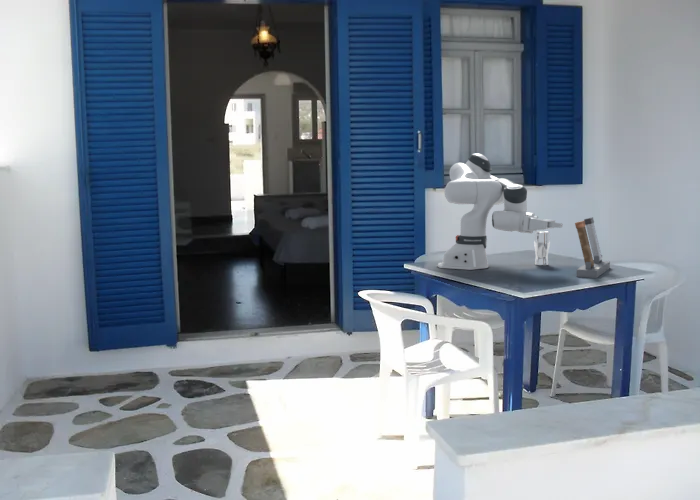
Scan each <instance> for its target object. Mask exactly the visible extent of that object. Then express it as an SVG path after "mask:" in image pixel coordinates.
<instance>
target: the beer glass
mask: <svg viewBox="0 0 700 500" xmlns="http://www.w3.org/2000/svg"><path fill="white" fill-rule="evenodd" d="M533 245H534V252H535V259H534V260H535V261H534V265H535V266H549V260H548V259H549V257H548V256H549V251H550V247H551V246H550V245H551V233H550V231H547V230H546V231H545V230H536V231H534V237H533Z"/></svg>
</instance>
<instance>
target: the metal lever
mask: <svg viewBox="0 0 700 500" xmlns="http://www.w3.org/2000/svg"><path fill="white" fill-rule="evenodd" d="M583 221H585V225H586V226H585V228H586V232H587V236H588V240H589V245H590V249H591V253H592V257H593V258H594V256H597V257H599V262H600V261H601V260H602V261H603V255H602V253H601V249H600V248H601V247H600V245H599V244H600V243H599V240H598V236H597V230H596V227H595V221H594V217H589V218H584V219H583ZM601 255H602V256H601Z"/></svg>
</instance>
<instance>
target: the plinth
mask: <svg viewBox="0 0 700 500" xmlns="http://www.w3.org/2000/svg"><path fill="white" fill-rule="evenodd" d="M601 256H602V257H603V255H602V254H601ZM593 261H594V265H593V266H592V267H591V262H586V265H585V263H584V264H583V265H581V266H579V268H577V269H576V277H577V278H590V279H591V278H592V279H597V278H599V277H601V276H602V275H603V274H604V273H606V272H607V271H608V270H609V269H610V268H611V261H609V260H608V261H607V260H603V259H602V260H601V261H600V262H599V257H597V256H594V257H593Z"/></svg>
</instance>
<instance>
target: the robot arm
mask: <svg viewBox="0 0 700 500" xmlns="http://www.w3.org/2000/svg"><path fill="white" fill-rule="evenodd" d="M492 171H493V168H492V167H491V163H490V160H489V159H488V158H487V157H486V156H485V155H484V154H482V153H476V152H475V153H472V154H470V156H469V157H468V160H467V161H466V162H465V163H464V162H456V163H453V164H452V165H451V166H450V168H449V178H450V180H449V181H448V182H447V184H446V186H445V187H444V197H445V199H446V200H447V202H448V203H450V204H456V205H473V208H472V209H471V210H470V211H468V212H466V213H465V214H463V216H462V217H461V218H460V234H456V235H455V244H453V245H452V246H451V247H449V248H448V249H447V250H446V251H445V252H444V253H443V257H442V261H441V262H438V263H437V267H438V268H440V269H451V270H452V269H453V270H455V269H456V270H470V271H471V270H480V269H487V268H489V263H488V262H489V261H488V257H487V247H488V245H487V244H488V239H487V237H488V236H487V235H486V234H487V233H486V231H487V221H488V216H489V214H490V212H491V210H492V208H493V207H494V206H497V205H502V204H503V210H494V211H493V213H492V214H491V215H492V216H491V225H492V228H493V229H494V230H499V231H504V232H518V233H523V234H533V233H534V232H535V231H545V230H550V229H556V228H557V229H558V228H559V229H561V228H563V223H562V222H556V220H555V219H549V218H548V219H547V218H539V216H538V215H535V212H527V203H528V202H527V196H528V189H527V188H526V187H525V186H523V184H520V183H519V184H518V183H516V182H514V181H512V180H509V179H507V178H505V177H504V178H503V177H501V178H498V177H496V176H495V175H492V174H491V173H490V172H492Z"/></svg>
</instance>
